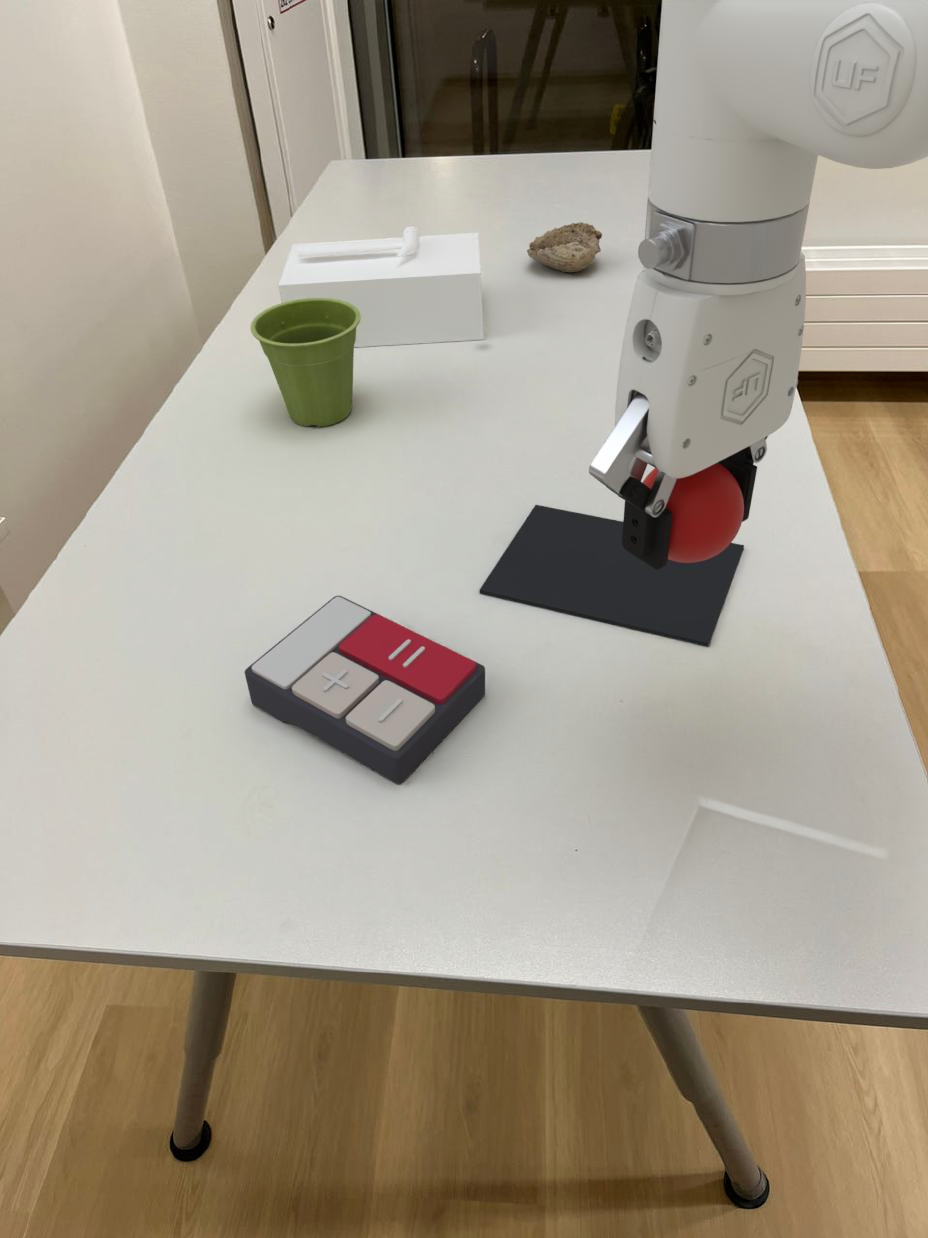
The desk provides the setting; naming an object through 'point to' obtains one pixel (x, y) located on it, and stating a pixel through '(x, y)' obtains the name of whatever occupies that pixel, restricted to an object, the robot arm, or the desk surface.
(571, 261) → the tan rough lump
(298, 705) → the calculator
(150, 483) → the desk surface
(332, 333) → the plant pot
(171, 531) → the desk surface
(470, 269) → the tissue box
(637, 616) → the side mat
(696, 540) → the red ball
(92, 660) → the desk surface
